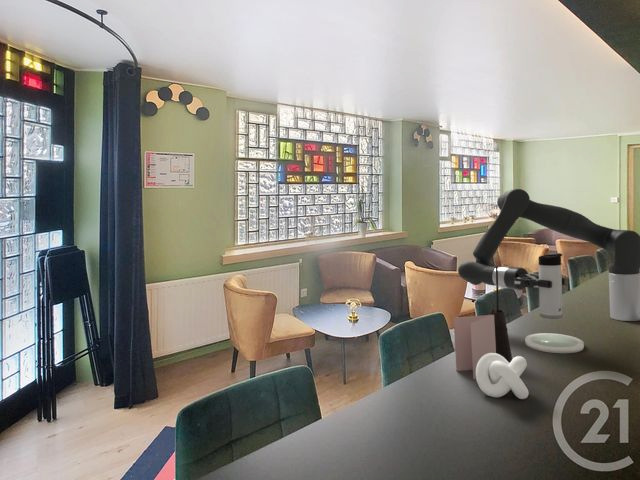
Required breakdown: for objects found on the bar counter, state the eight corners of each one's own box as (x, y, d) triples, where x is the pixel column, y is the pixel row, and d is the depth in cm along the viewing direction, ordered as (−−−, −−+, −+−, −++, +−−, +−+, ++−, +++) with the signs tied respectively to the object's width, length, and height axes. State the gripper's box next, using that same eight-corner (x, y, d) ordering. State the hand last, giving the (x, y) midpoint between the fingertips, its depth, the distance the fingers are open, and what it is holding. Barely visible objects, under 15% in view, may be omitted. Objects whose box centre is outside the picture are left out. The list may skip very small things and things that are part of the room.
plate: (521, 336, 136) (521, 332, 136) (575, 338, 131) (575, 333, 131) (530, 352, 121) (529, 347, 121) (591, 354, 116) (590, 349, 116)
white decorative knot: (546, 403, 89) (544, 364, 89) (495, 409, 88) (493, 369, 88) (517, 383, 100) (516, 348, 100) (471, 388, 100) (469, 352, 99)
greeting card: (495, 366, 112) (492, 313, 111) (508, 376, 105) (505, 320, 104) (455, 369, 112) (452, 317, 111) (465, 380, 104) (462, 323, 104)
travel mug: (567, 319, 122) (565, 254, 121) (543, 319, 124) (542, 255, 123) (559, 314, 128) (557, 252, 127) (537, 314, 130) (535, 253, 129)
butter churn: (482, 352, 124) (477, 263, 122) (516, 354, 120) (512, 262, 119) (483, 363, 115) (478, 267, 114) (520, 365, 112) (515, 266, 110)
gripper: (495, 269, 135) (543, 273, 120) (522, 264, 141) (571, 268, 126) (496, 291, 135) (544, 298, 120) (523, 285, 142) (572, 291, 127)
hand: (558, 283), depth 123 cm, fingers closed on travel mug, 6 cm apart
